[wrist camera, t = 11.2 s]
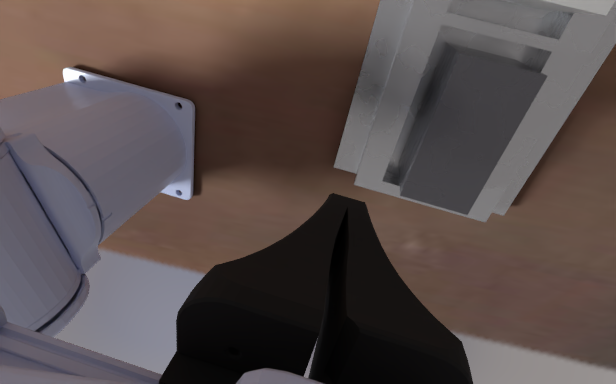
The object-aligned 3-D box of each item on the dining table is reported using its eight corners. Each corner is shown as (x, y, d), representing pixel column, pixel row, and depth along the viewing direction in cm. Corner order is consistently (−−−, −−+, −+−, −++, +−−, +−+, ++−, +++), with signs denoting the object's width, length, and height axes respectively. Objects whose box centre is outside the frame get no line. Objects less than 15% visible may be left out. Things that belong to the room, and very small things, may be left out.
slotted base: (335, 160, 22) (323, 198, 18) (461, -288, 12) (498, -435, 8) (499, 207, 22) (525, 258, 17) (775, -231, 12) (994, -360, 7)
